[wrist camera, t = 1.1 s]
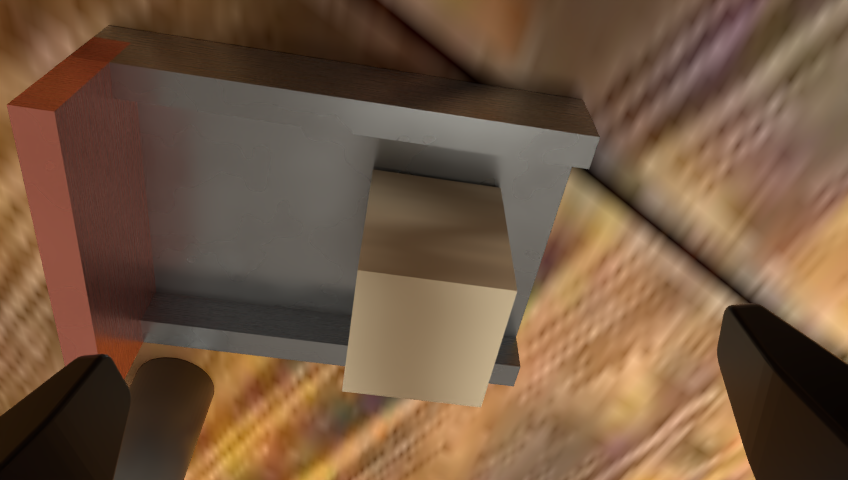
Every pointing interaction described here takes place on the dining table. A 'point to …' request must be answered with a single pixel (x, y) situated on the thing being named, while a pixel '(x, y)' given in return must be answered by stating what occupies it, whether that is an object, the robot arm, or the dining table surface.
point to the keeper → (430, 290)
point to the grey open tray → (258, 188)
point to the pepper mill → (163, 420)
